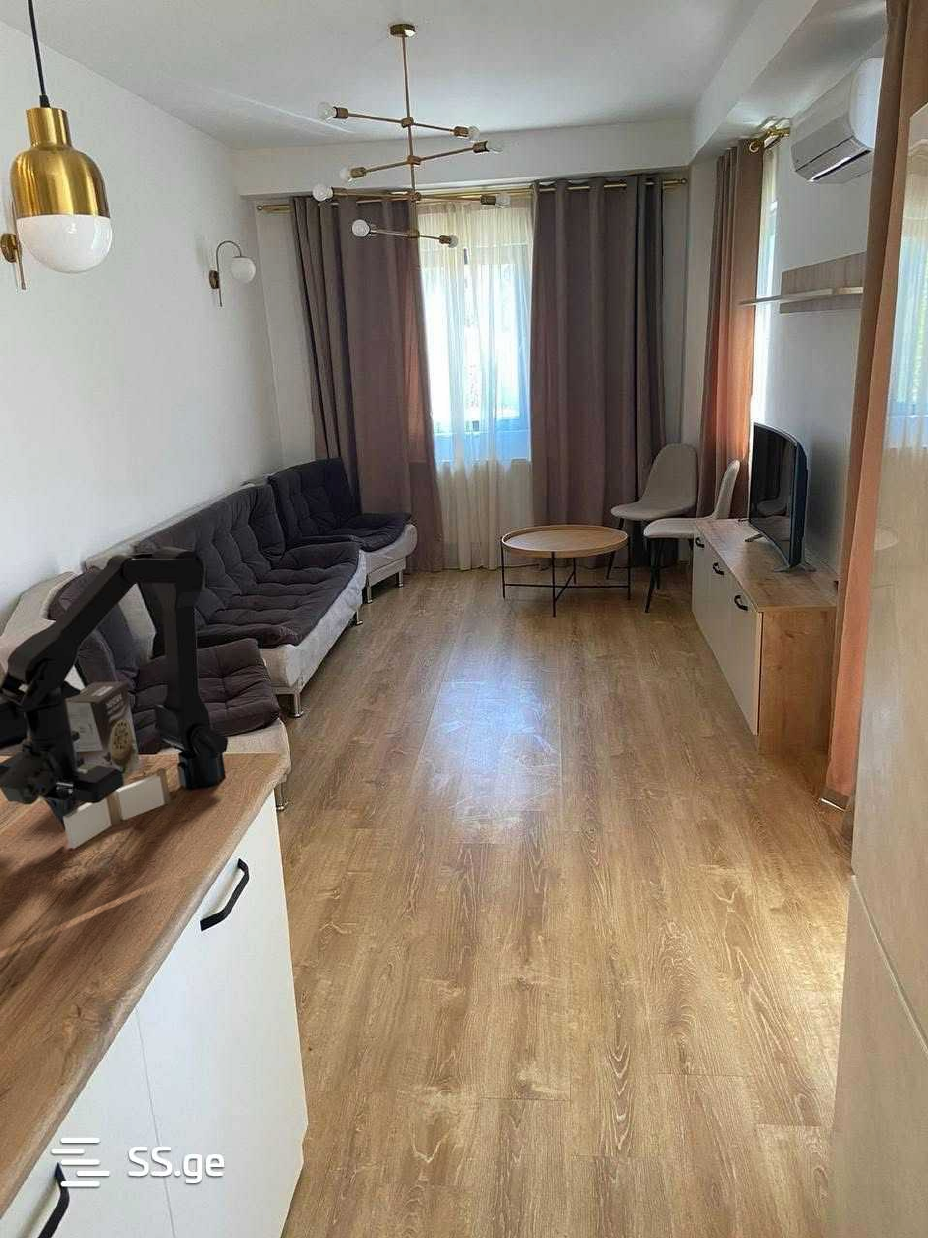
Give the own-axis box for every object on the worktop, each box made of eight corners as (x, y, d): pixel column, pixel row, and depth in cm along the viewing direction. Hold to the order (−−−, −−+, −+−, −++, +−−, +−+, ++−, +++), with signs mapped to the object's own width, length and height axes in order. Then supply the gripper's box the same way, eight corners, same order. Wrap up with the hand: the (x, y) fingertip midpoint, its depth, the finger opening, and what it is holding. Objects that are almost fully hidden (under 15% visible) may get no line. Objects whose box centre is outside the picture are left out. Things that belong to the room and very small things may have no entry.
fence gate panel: (106, 824, 138) (100, 794, 137) (111, 825, 138) (105, 795, 137) (69, 847, 133) (62, 817, 131) (74, 849, 132) (67, 818, 131)
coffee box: (114, 793, 150) (97, 702, 145) (78, 791, 151) (60, 701, 146) (142, 767, 158) (127, 680, 153) (109, 766, 160) (92, 680, 155)
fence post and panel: (167, 800, 146) (162, 767, 144) (173, 803, 144) (167, 770, 143) (106, 823, 139) (100, 789, 138) (111, 828, 138) (105, 793, 136)
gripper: (-48, 747, 125) (-26, 846, 130) (59, 766, 119) (78, 870, 124) (15, 714, 135) (34, 807, 140) (118, 731, 129) (133, 828, 134)
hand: (67, 828), depth 134 cm, fingers closed
